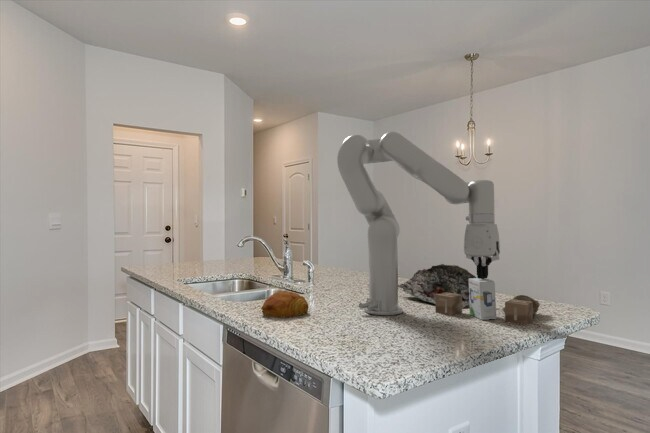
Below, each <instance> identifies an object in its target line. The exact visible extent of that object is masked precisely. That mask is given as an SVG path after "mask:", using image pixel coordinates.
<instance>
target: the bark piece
mask: <svg viewBox="0 0 650 433" xmlns="http://www.w3.org/2000/svg"><path fill="white" fill-rule="evenodd" d="M470 278H477V277H476V276H475V275H474V274H472V273H471V272H469V271H468V269H466V268H463V267H460V266H459V265H455V264H452V265H451V264H444V263H441V264H437V265H432V266H431V267H430V268H423V269H422V270H421V269H418V270H417V271H416V272H415V273H414V274H413V275H412V277H411V278H410V279H408V280H407V281H405V282H403V283H401V284H398V289H401V290H402V291H403V292H404V293H406V294H407V295H411V297H414V298H417V299H419V300H421V301H424V302H428V303H431V304H434V305H436V294H441V293H446V292H447V293H453V294H459V295H462V309H465V308H466V307H467V306H470V305H469V279H470Z"/></svg>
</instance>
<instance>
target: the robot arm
mask: <svg viewBox="0 0 650 433" xmlns="http://www.w3.org/2000/svg"><path fill="white" fill-rule="evenodd" d="M336 157H337V158H336V159H337V160H336V161H337V167H338V172H339V174H340V176H341V179H342V180H343V183H344V185H345V187H346V189H347V191H348V193H349V195H350V196H351V199H352V201H353V203H354V206H355V208H356V210H357V211H358V212H359V214H361V215H363V216H364V219H365V221H366V223H367V224H368V228H367V243H368V244H367V246H368V247H367V248H368V282H369V283H368V297H367V298H366V301H363V302H359V304H358V308H359V309H361V310H362V309H364V310H363V311H364V312H365V313H367V314H370V315H375V316H376V315H377V316H395V315H400V314H402V313H403V310H404V309H403V307H402V306H400V305H399V287H398V285H399V276H398V275H399V267H398V266H399V262H398V257H399V256H398V238H399V235H400V232H401V231H400V230H401V228H400V224H399V222H398V221H397V218H396V217H395V214H394V212H393V211H392V208H391V207H390V205H389V203H388V201H387V199H386V198H385V196H384V195H383V193H382V192H380V191H379V190H377V188H376V186H375V185H374V182H373V181H372V179H371V177H370V175H369V173H368V170H366V167H365V166H364V165H366V164H376V163H385V162H393V163H394V164H396V165H397V166H398V167H400V168H401V169H402V170H403V171H405V172H406V173H407V174H408V175H410V176H411V177H412V178H414V179H416V180H418V181H421V182H423V183H424V184H426V185H427V186H428V187H429V188H431V189H433V190H434V191H435V192H437V193H438V194H439V195H440V196H442V197H443V198H444V199H445V201H446V202H447V203H448V204H451V205H462V204H463V205H464V204H468V216H465V220H466V221H468V223H467V224H466V226H465V230H464V237H463V253H464V255H465V258H466V259H469V260H471V261H472V262H473V263H474V265H475V266H476V276H477V277H476V278H478V279H480V278H481V279H485V278H486V279H488V277H489V266H490V265H491V263H492V262H494V261H495V262H496V261H499V260H500V252H501V244H500V237H499V236H500V234H499V230H498V225H497V224H496V223H495V221H496V220H495V184H494V182H493V181H492V180H491V179H480V180H478V179H477V180H472V181H470V182H468V181H467V182H466V181H465V180H464V179H463V178H461V177H460V176H458V174H456V173H454V172H453V171H451V170H450V169H449V168H448V167H446V166H445V165H443V164H442V163H440V162H439V161H437V160H436V159H435V158H433V157H432V156H430V154H428V153H427V152H425V151H424V150H422V149H421V148H419V146H417V145H416V144H414V143H413V142H412V141H410V140H409V139H408V138H406V136H403V134H401V133H399V132H397V131H388V132H386V133H384V134H383V135H382V137H381V138H376V139H367V138H366V137H365V136H363V135H360V134H352V135H350V136H347V137H346V138H345V139H344V140H343V142H342V143H341V145H340V147H339V149H338V152H337V156H336Z"/></svg>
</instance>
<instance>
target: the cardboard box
mask: <svg viewBox="0 0 650 433" xmlns="http://www.w3.org/2000/svg"><path fill="white" fill-rule="evenodd" d="M435 313H436V314H440V313H441V315H446V316H450V317H451V316H456V314H457V315H460V314H463V308H462V295H459V294H453V293H447V292H446V293H441V294H436V304H435Z"/></svg>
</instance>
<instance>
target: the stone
mask: <svg viewBox="0 0 650 433" xmlns="http://www.w3.org/2000/svg"><path fill="white" fill-rule="evenodd" d="M512 299H514V300H522V301H530V302H533V316H534V315H535V314H536V313H537V312H538V310H539V307H540V305H541V304H540V302H539V301H537V300H535V299H534V298H532V297H530V296H529V295H524V294H519V295H516V296H514V297H513V298H512ZM502 311H503V312H504V313H505V306H504V307H502Z"/></svg>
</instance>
